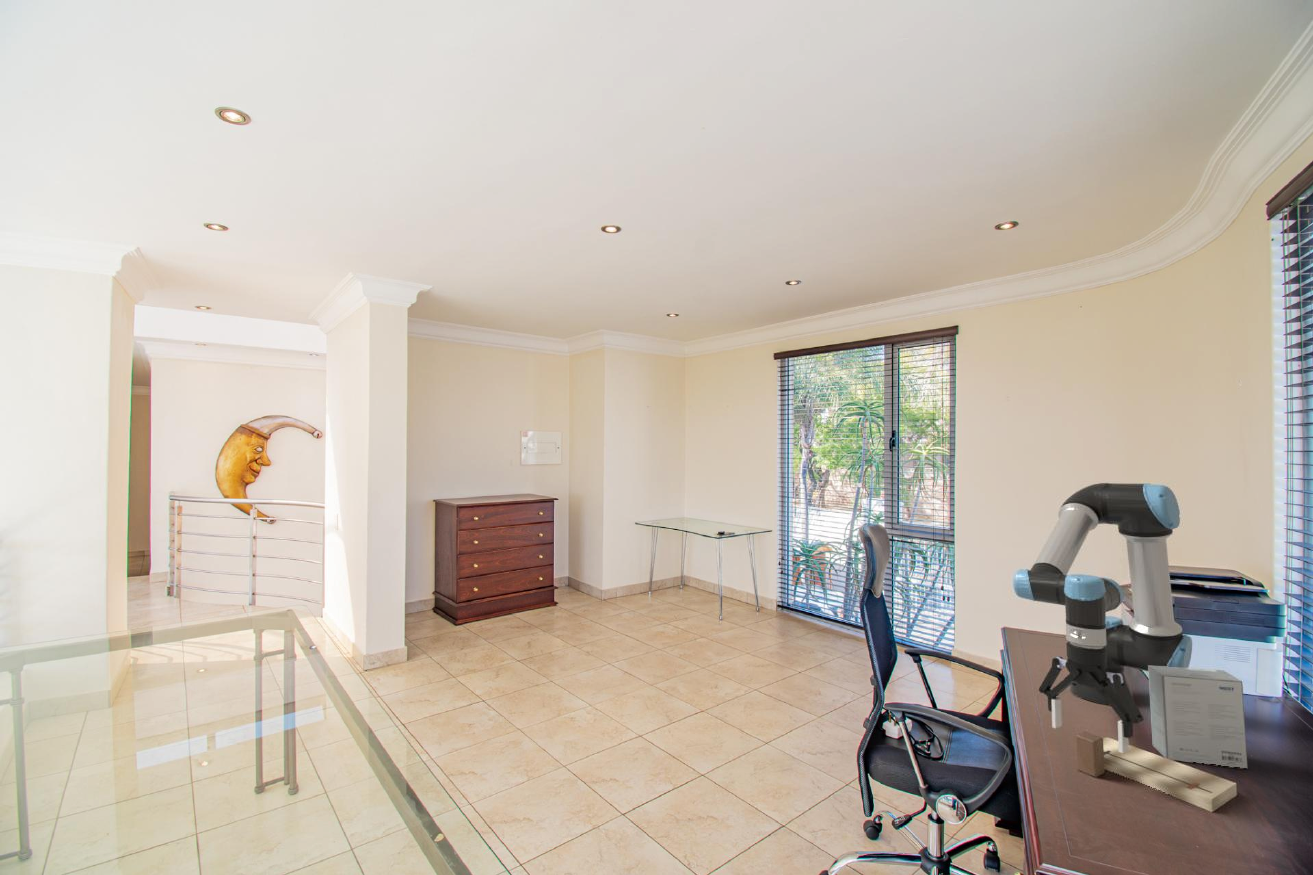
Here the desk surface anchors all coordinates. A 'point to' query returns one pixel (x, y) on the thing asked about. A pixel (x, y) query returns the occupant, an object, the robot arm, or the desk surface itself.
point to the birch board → (1169, 776)
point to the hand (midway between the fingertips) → (1089, 738)
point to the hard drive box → (1198, 715)
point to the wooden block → (1090, 754)
